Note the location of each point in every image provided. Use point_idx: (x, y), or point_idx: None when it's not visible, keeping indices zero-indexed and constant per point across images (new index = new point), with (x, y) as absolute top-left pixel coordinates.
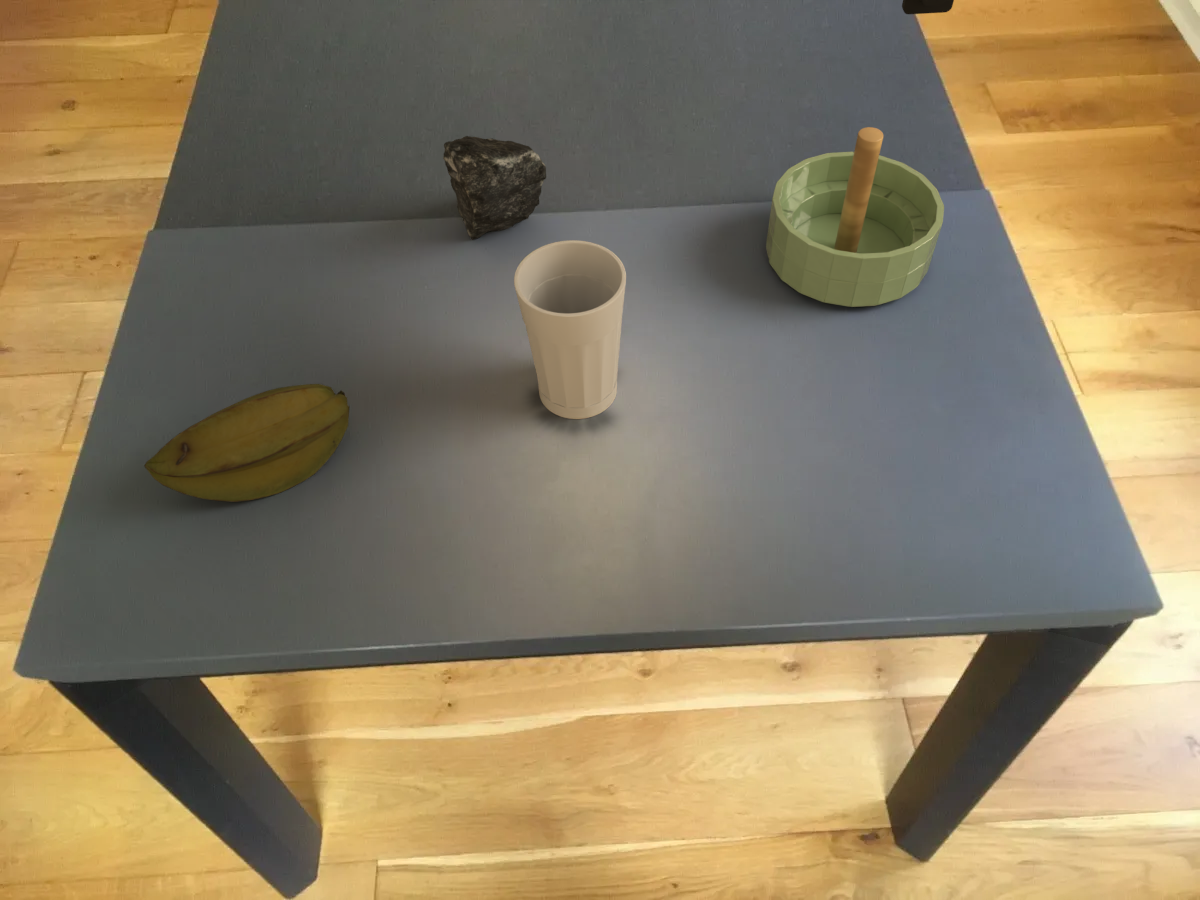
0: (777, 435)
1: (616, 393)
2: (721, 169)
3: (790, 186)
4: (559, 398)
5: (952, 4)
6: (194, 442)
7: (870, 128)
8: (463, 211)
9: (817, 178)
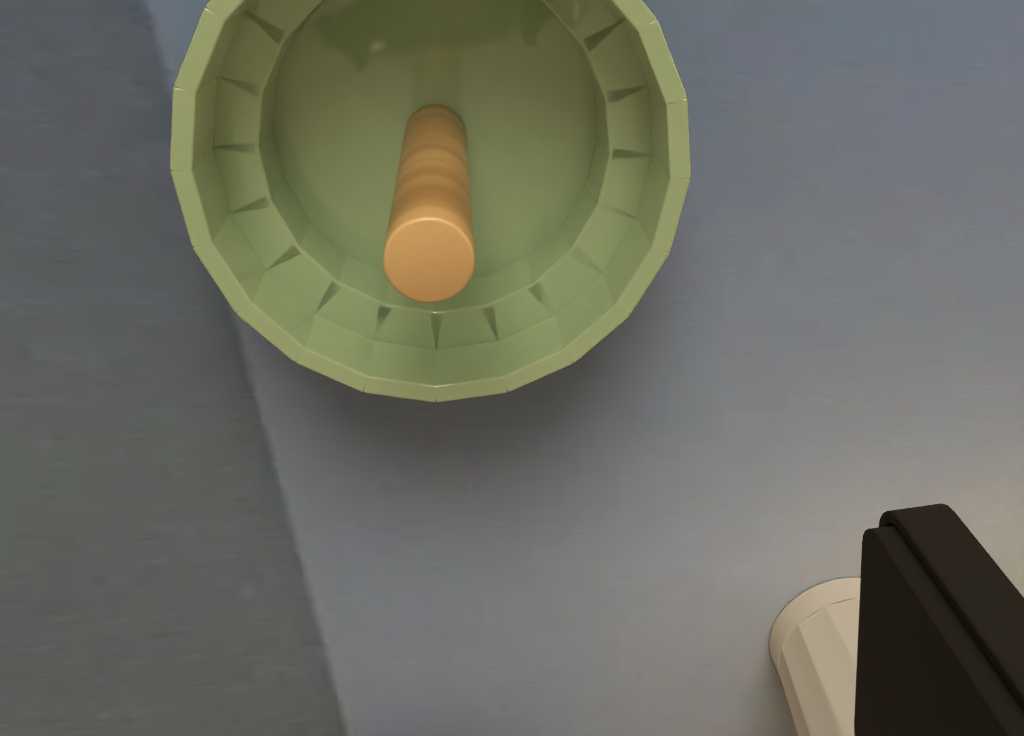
0: (1005, 301)
1: (860, 578)
2: (116, 427)
3: (319, 332)
4: None
5: (961, 521)
6: None
7: (392, 260)
8: None
9: (244, 247)
